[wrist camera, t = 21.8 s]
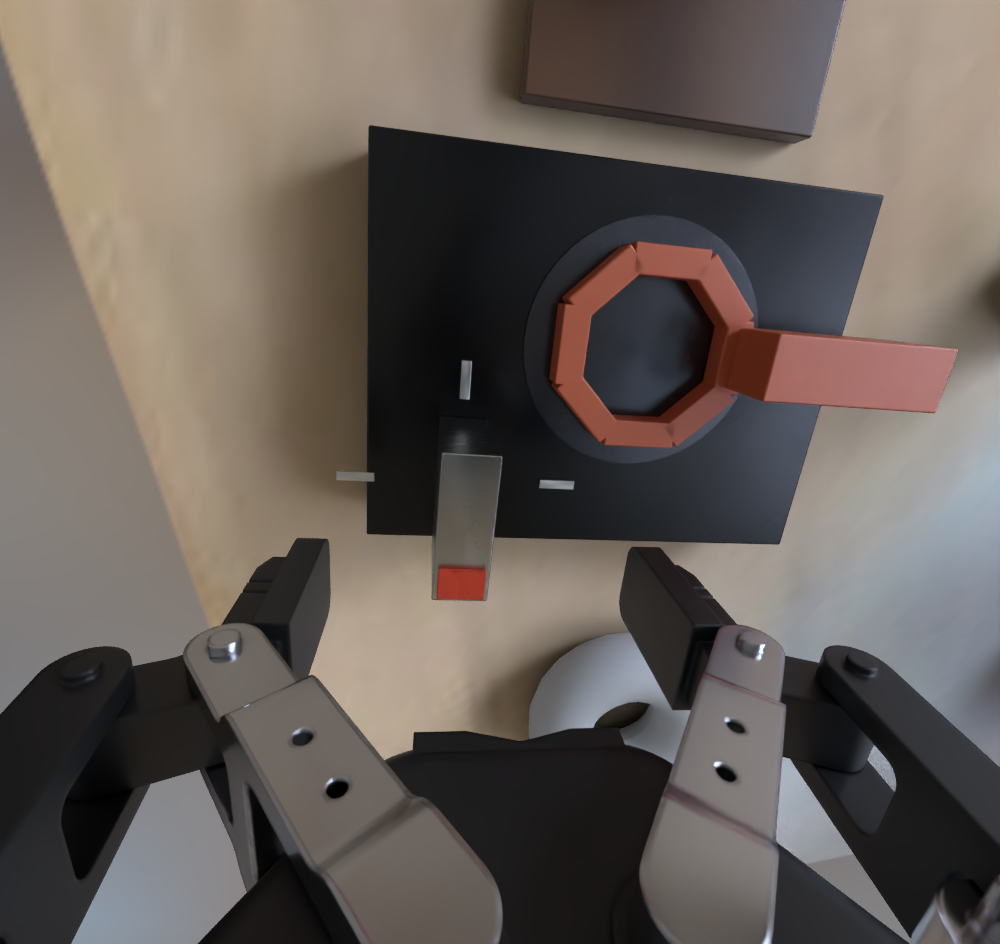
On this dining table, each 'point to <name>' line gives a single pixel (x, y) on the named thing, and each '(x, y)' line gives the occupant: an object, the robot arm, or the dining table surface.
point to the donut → (606, 695)
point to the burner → (630, 335)
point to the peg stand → (684, 61)
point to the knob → (464, 508)
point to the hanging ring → (736, 355)
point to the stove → (504, 313)
